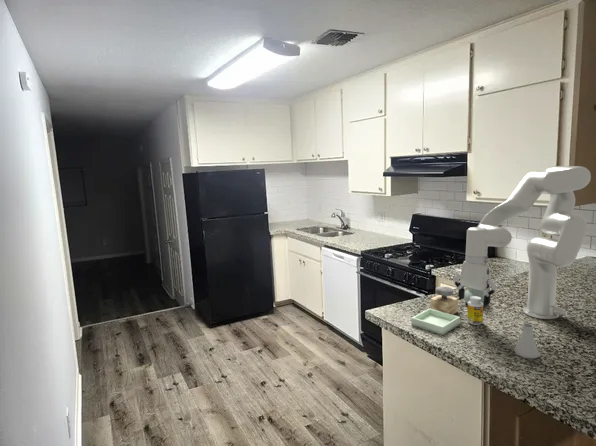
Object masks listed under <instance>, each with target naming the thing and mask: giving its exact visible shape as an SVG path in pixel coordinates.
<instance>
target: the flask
mask: <svg viewBox="0 0 596 446" xmlns="http://www.w3.org/2000/svg"><path fill="white" fill-rule="evenodd" d="M534 328H535V326H534V324H531V323H522V333H521V336H520V337H519V340H518V341H517V343H516V345H515V347H514V349H513V351H514V353H515V355H517V356H519V357H521V358H524V359H531V360H532V359H535V360H536V359H537V358H540V357H541V354H540V351H539V349H538V346H537V344H536V341H535V338H534Z"/></svg>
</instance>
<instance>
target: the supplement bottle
mask: <svg viewBox="0 0 596 446" xmlns="http://www.w3.org/2000/svg"><path fill="white" fill-rule="evenodd" d="M483 316H484V305H483V303H482V302H481V298H480V297H477V296H472V297H470V301H469V302H468V303H467V317H466V321H467V322H468V324H471V325H474V326H475V325H476V326H479V325H482V324H483V320H484V319H483V318H484V317H483Z"/></svg>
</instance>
